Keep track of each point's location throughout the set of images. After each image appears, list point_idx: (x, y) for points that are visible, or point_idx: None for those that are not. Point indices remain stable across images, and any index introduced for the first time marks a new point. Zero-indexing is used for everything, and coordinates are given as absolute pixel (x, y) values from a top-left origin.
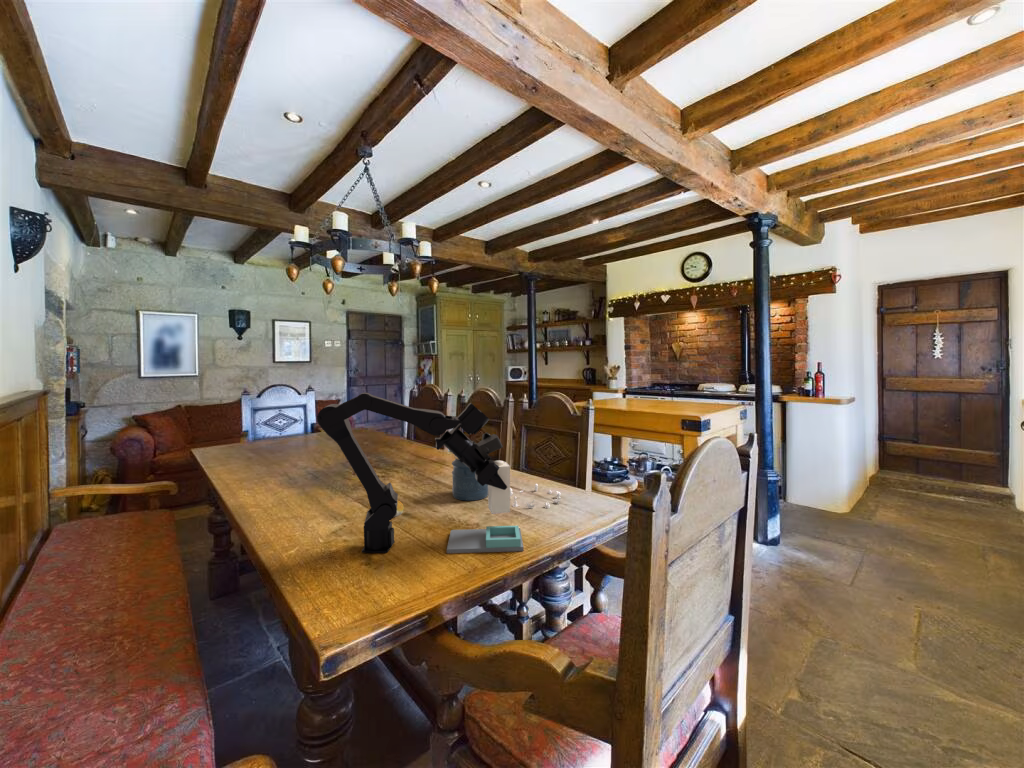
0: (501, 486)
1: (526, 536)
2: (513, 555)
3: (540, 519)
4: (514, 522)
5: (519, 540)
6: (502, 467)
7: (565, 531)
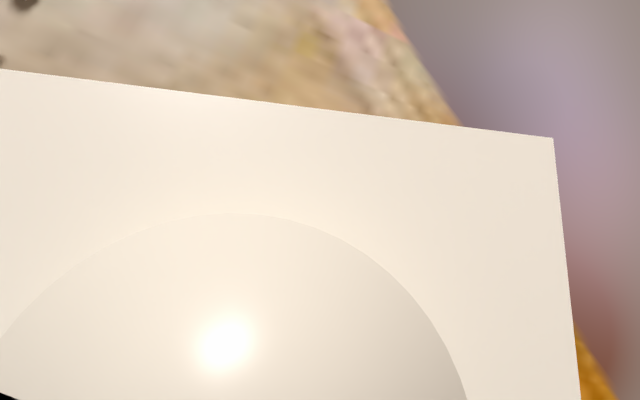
0: None
1: None
2: None
3: (164, 81)
4: None
5: None
6: (553, 374)
7: (336, 48)
